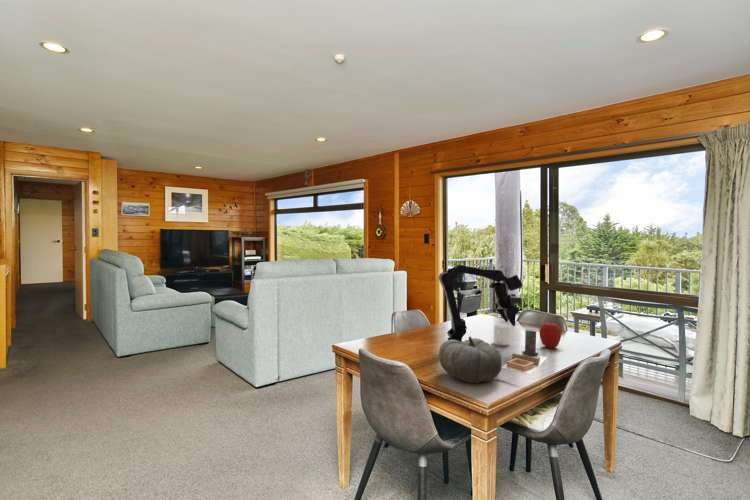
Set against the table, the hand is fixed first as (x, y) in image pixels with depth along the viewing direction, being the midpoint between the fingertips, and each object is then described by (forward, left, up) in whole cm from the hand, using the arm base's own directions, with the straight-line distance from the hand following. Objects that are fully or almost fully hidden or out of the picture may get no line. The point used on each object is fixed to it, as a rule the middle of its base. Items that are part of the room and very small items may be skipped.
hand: (510, 323), depth 195 cm
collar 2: (-2, -16, -12) cm, 20 cm away
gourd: (-40, -25, -14) cm, 50 cm away
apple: (+24, -2, -14) cm, 27 cm away
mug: (+2, +9, -14) cm, 16 cm away
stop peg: (-2, -16, -12) cm, 20 cm away
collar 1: (-15, -24, -12) cm, 31 cm away
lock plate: (-8, -20, -13) cm, 26 cm away
